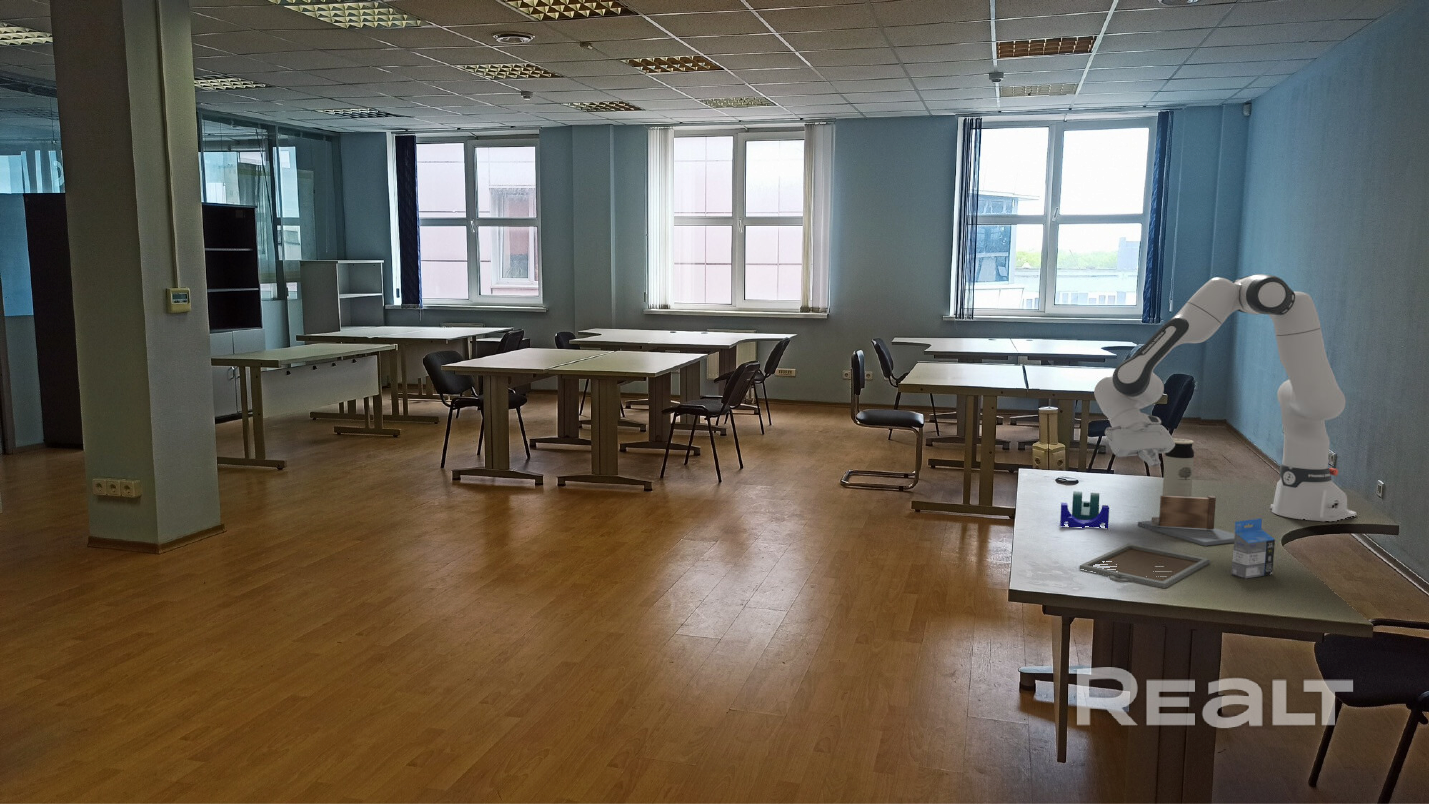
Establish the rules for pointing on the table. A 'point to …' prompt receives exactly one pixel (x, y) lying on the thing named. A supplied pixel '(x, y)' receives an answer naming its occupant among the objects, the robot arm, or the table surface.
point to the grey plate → (1193, 534)
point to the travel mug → (1179, 469)
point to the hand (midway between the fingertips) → (1155, 465)
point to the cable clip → (1074, 522)
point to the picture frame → (1146, 565)
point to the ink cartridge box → (1252, 550)
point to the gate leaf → (1186, 512)
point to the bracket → (1085, 506)
